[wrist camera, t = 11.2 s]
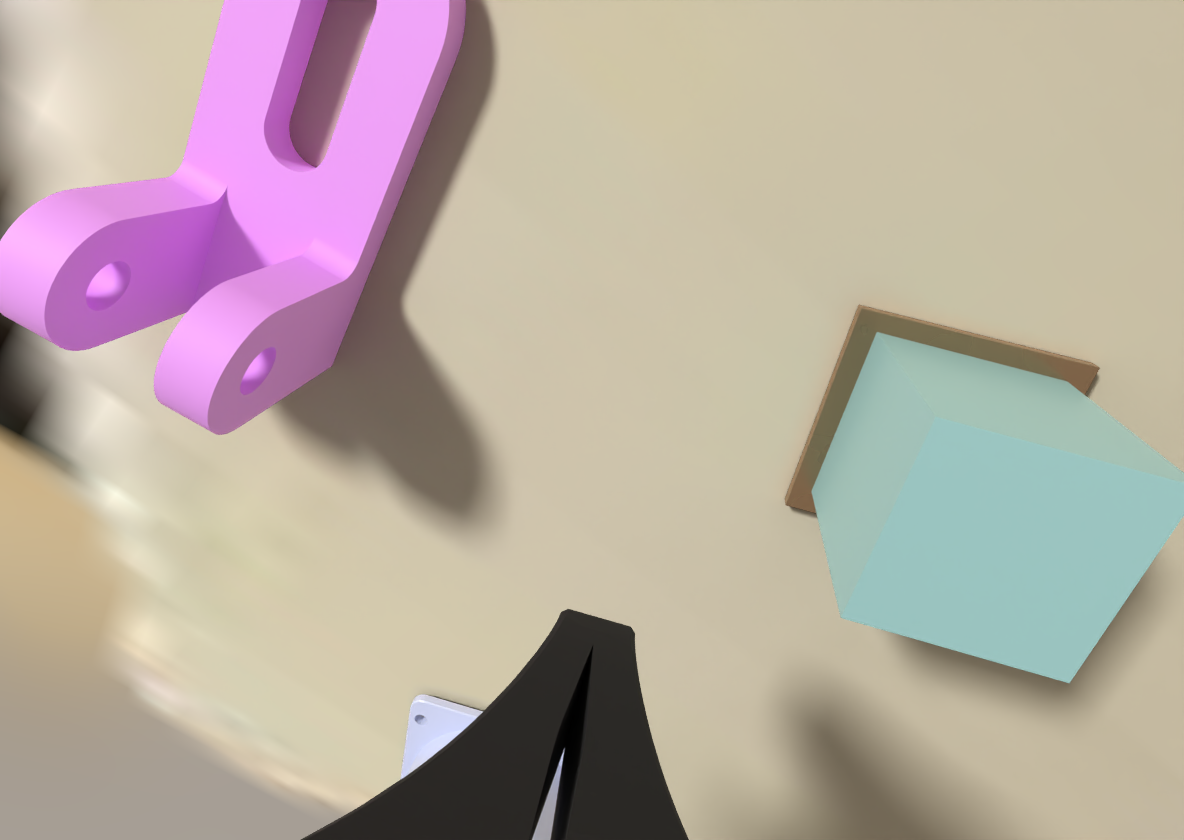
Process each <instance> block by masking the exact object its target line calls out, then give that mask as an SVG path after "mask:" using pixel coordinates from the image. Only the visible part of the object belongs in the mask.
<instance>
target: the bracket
mask: <svg viewBox="0 0 1184 840" xmlns="http://www.w3.org/2000/svg"><path fill="white" fill-rule="evenodd" d="M327 2H328V0H224V4H223V8H222V11H221V15H220V19H219V23H218V27H217V31H216V35H215V39H214V42H213V46H212V50H211V54H210V58H209V62H208V66H207V70H206V73H205V77H204V81H203V85H202V89H201V93H200V97H199V101H198V104H197V108H196V112H195V116H194V120H193V124H192V128H191V132H190V136H189V139H188V143H187V147H186V151H185V155H184V159H183V162H182V164H181V166H180V167H179V169H178V170H177V171H176V172H175V173H174V174H173V175H171V176H170V177H167V178H160V179H152V180H143V181H135V182H127V183H119V184H110V185H102V186H94V187H86V188H77V189H70V190H64V191H61V192H57V193H55V194H52V195H50V196H48V197H46V198H44V199H42V200H40V201H39V202H37V203H36V204H34V205H33V206H31V207H30V208H29V209H27V210H26V211H25V212H24V213H23V214H22V215H21V216H20V217H19V218H18V219H17V220H16V221H15V222H14V223H13V224H12V225H11V227H10V228H9V229H8V230H7V232H6V233H5V235H4V236H3V238H2V239H1V241H0V313H2V314H3V315H4V316H6V317H7V318H9V319H11V320H13V321H15V322H16V323H18V324H20V325H22V326H23V327H25V328H27V329H29V330H31V331H32V332H34V333H36V334H38V335H40V336H41V337H43V338H45V339H47V340H48V341H50V342H52V343H54V344H56V345H57V346H59V347H61V348H63V349H66V350H72V351H79V350H86V349H90V348H93V347H96V346H99V345H101V344H104V343H107V342H109V341H112V340H115V339H117V338H120V337H122V336H125V335H128V334H130V333H133V332H136V331H138V330H141V329H144V328H146V327H149V326H152V325H154V324H157V323H160V322H162V321H165V320H167V319H170V318H173V317H175V316H178V315H181V314H183V313H186V312H187V313H186V314H185V315H184V317H183V318H182V319H181V320H180V322H179V323H178V325H177V326H176V328H175V329H174V331H173V332H172V334H171V335H170V337H169V339H168V341H167V343H166V345H165V347H164V349H163V351H162V353H161V355H160V358H159V361H158V364H157V367H156V371H155V377H154V391H155V395H156V398H157V399H158V401H159V402H160V403H161V404H163V405H165V406H166V407H168V408H170V409H172V410H174V411H175V412H177V413H179V414H181V415H182V416H184V417H186V418H188V419H190V420H191V421H193V422H195V423H197V424H199V425H200V426H202V427H204V428H206V429H207V430H209V431H211V432H213V433H215V434H218V435H222V434H226V433H229V432H231V431H233V430H235V429H237V428H239V427H240V426H242V425H243V424H245V423H246V422H248V421H249V420H251V419H252V418H254V417H255V416H257V415H258V414H260V413H261V412H263V411H265V410H266V409H268V408H269V407H271V406H272V405H274V404H275V403H277V402H278V401H280V400H281V399H283V398H284V397H286V396H287V395H289V394H290V393H292V392H293V391H295V390H296V389H298V388H300V387H301V386H303V385H304V384H306V383H307V382H309V381H310V380H312V379H313V378H315V377H316V376H318V375H319V374H321V373H322V372H324V371H325V370H327V369H328V368H330V367H332V365H333V362H334V360H335V357H336V355H337V352H338V350H339V347H340V345H341V342H342V340H343V337H344V335H345V333H346V330H347V328H348V325H349V323H350V320H351V318H352V315H353V313H354V310H355V308H356V305H357V303H358V300H359V298H360V296H361V293H362V291H363V288H364V286H365V283H366V281H367V278H368V276H369V273H370V271H371V268H372V266H373V263H374V261H375V259H376V256H377V254H378V251H379V249H380V246H381V244H382V241H383V239H384V236H385V234H386V231H387V229H388V226H389V224H390V222H391V219H392V217H393V214H394V212H395V209H396V207H397V204H398V202H399V199H400V197H401V194H402V192H403V189H404V187H405V185H406V182H407V180H408V177H409V175H410V172H411V170H412V167H413V165H414V162H415V160H416V157H417V155H418V152H419V150H420V148H421V145H422V143H423V140H424V138H425V135H426V133H427V130H428V128H429V125H430V123H431V120H432V118H433V115H434V113H435V111H436V108H437V106H438V103H439V101H440V98H441V96H442V93H443V91H444V88H445V86H446V83H447V81H448V78H449V76H450V74H451V71H452V69H453V66H454V64H455V61H456V59H457V56H458V53H459V50H460V47H461V43H462V39H463V35H464V28H465V18H466V0H377V7H376V12H375V16H374V18H373V21H372V24H371V27H370V30H369V33H368V36H367V39H366V41H365V44H364V47H363V50H362V53H361V56H360V59H359V62H358V65H357V67H356V70H355V73H354V76H353V79H352V82H351V85H350V88H349V90H348V93H347V96H346V99H345V102H344V105H343V108H342V111H341V113H340V116H339V119H338V122H337V125H336V128H335V131H334V134H333V136H332V139H331V142H330V145H329V148H328V151H327V154H326V156H325V158H324V160H323V161H322V163H321V164H320V165H319V166H318V167H314V166H312V165H310V164H308V163H307V162H305V161H304V160H303V159H302V158H301V157H300V156H299V154H298V153H297V152H296V150H295V148H294V146H293V144H292V141H291V138H290V133H289V123H290V118H291V115H292V112H293V109H294V106H295V102H296V99H297V96H298V93H299V90H300V87H301V84H302V80H303V77H304V74H305V71H306V68H307V65H308V61H309V58H310V55H311V52H312V49H313V46H314V43H315V39H316V36H317V33H318V30H319V27H320V24H321V20H322V17H323V14H324V11H325V8H326V5H327Z"/></svg>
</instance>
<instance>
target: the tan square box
mask: <svg viewBox="0 0 1184 840" xmlns="http://www.w3.org/2000/svg"><path fill="white" fill-rule="evenodd" d="M877 332H879V333H883V334H887V335H891V336H895V337H898V338H902V339H906V340H910V341H914V342H918V343H921V344H925V345H929V346H933V347H937V348H941V349H944V350H948V351H952V352H956V353H960V354H964V355H968V356H971V357H975V358H979V359H983V360H987V361H991V362H994V363H998V364H1002V365H1006V366H1010V367H1014V368H1017V369H1021V370H1025V371H1029V372H1033V373H1037V374H1041V375H1044V376H1048V377H1052V378H1056V379H1060V380H1064V381H1067V382H1069V383H1070V384H1071V385H1073V386H1074V387H1075V388H1076V389H1078V390H1079V391H1080V392H1081V393H1083V394H1084V395H1085V394H1086V392H1087V390H1088V388H1089V387H1090V385H1091V383H1092V381H1093V379H1094V378H1095V376H1096V374H1097V372H1098V370H1099V367H1098V366H1096V365H1095V364H1093V363H1091V362H1087V361H1083V360H1079V359H1075V358H1071V357H1067V356H1063V355H1059V354H1055V353H1051V352H1047V351H1042V350H1038V349H1034V348H1030V347H1026V346H1022V345H1018V344H1014V343H1010V342H1006V341H1002V340H998V339H994V338H990V337H986V336H982V335H978V334H974V333H970V332H966V331H962V330H958V329H954V328H950V327H946V326H942V325H938V324H934V323H930V322H926V321H922V320H918V319H914V318H910V317H906V316H902V315H898V314H894V313H890V312H886V311H882V310H878V309H874V308H870V307H866V306H862V305H859V306H858V308H857V311H856V313H855V316H854V319H853V321H852V324H851V327H850V329H849V332H848V334H847V337H846V340H845V342H844V345H843V347H842V350H841V353H840V355H839V358H838V361H837V363H836V366H835V368H834V371H833V374H832V376H831V379H830V381H829V384H828V387H827V389H826V392H825V395H824V397H823V400H822V402H821V405H820V408H819V410H818V413H817V416H816V418H815V421H814V423H813V426H812V429H811V431H810V434H809V436H808V439H807V442H806V444H805V447H804V450H803V452H802V455H801V457H800V460H799V463H798V465H797V468H796V470H795V473H794V476H793V478H792V481H791V484H790V486H789V489H788V491H787V494H786V497H785V504H786V505H787V506H791V507H795V508H798V509H802V510H806V511H810V512H813V513H816V509H815V505H814V500H813V496H812V492H811V491H812V489H813V486H814V484H815V481H816V479H817V477H818V474H819V472H820V469H821V467H822V464H823V462H824V460H825V457H826V455H827V452H828V450H829V447H830V445H831V442H832V440H833V438H834V435H835V433H836V430H837V428H838V425H839V423H840V420H841V418H842V416H843V413H844V411H845V408H846V406H847V403H848V401H849V399H850V396H851V394H852V391H853V389H854V386H855V384H856V381H857V379H858V377H859V374H860V372H861V369H862V367H863V364H864V362H865V360H866V357H867V355H868V352H869V350H870V347H871V345H872V342H873V340H874V338H875V335H876V333H877Z"/></svg>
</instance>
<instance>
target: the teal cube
mask: <svg viewBox="0 0 1184 840" xmlns="http://www.w3.org/2000/svg"><path fill="white" fill-rule="evenodd" d="M811 492H812V496H813V500H814V505H815V509H816V513H817V517H818V522H819V526H820V530H821V535H822V539H823V543H824V548H825V552H826V556H827V561H828V565H829V569H830V574H831V578H832V582H833V586H834V591H835V595H836V599H837V604H838V608H839V612H840V617H841V618H843V619H847V620H850V621H854V622H857V623H861V624H864V625H868V626H871V627H875V628H878V629H881V630H885V631H888V632H892V633H895V634H899V635H902V636H906V637H909V638H913V639H916V640H920V641H923V642H927V643H930V644H934V645H937V646H941V647H944V648H948V649H951V650H955V651H958V652H962V653H965V654H969V655H972V656H976V657H979V658H983V659H986V660H990V661H993V662H997V663H1000V664H1004V665H1007V666H1011V667H1014V668H1018V669H1021V670H1025V671H1028V672H1032V673H1035V674H1039V675H1042V676H1046V677H1049V678H1053V679H1056V680H1060V681H1063V682H1067V683H1070V682H1071V680H1072V679H1073V677H1074V676H1075V674H1076V673H1077V671H1078V670H1079V668H1080V667H1081V665H1082V664H1083V662H1084V661H1085V660H1086V658H1087V657H1088V655H1089V654H1090V652H1091V651H1092V649H1093V648H1094V646H1095V645H1096V643H1097V642H1098V640H1099V639H1100V638H1101V636H1102V635H1103V633H1104V632H1105V630H1106V629H1107V627H1108V626H1109V624H1110V623H1111V621H1112V620H1113V619H1114V617H1115V616H1116V614H1117V613H1118V611H1119V610H1120V608H1121V607H1122V605H1123V604H1124V602H1125V601H1126V599H1127V598H1128V597H1129V595H1130V594H1131V592H1132V591H1133V589H1134V588H1135V586H1136V585H1137V583H1138V582H1139V580H1140V579H1141V577H1142V576H1143V575H1144V573H1145V572H1146V570H1147V569H1148V567H1149V566H1150V564H1151V563H1152V561H1153V560H1154V558H1155V557H1156V555H1157V554H1158V553H1159V551H1160V550H1161V548H1162V547H1163V545H1164V544H1165V542H1166V541H1167V539H1168V538H1169V536H1170V535H1171V533H1172V532H1173V531H1174V529H1175V528H1176V526H1177V525H1178V523H1179V522H1180V520H1181V519H1182V517H1183V516H1184V473H1183V472H1182V471H1181V470H1179V469H1178V468H1177V467H1176V466H1174V465H1173V464H1172V463H1170V462H1169V461H1168V460H1167V459H1165V458H1164V457H1163V456H1162V455H1160V454H1159V453H1158V452H1156V451H1155V450H1154V449H1153V448H1151V447H1150V446H1149V445H1148V444H1146V443H1145V442H1144V441H1142V440H1141V439H1140V438H1139V437H1137V436H1136V435H1135V434H1134V433H1132V432H1131V431H1130V430H1128V429H1127V428H1126V427H1125V426H1123V425H1122V424H1121V423H1120V422H1118V421H1117V420H1116V419H1114V418H1113V417H1112V416H1111V415H1109V414H1108V413H1107V412H1106V411H1104V410H1103V409H1102V408H1101V407H1099V406H1098V405H1097V404H1095V403H1094V402H1093V401H1092V400H1090V399H1089V398H1088V397H1087V396H1085V395H1084V394H1083V393H1081V392H1080V391H1079V390H1078V389H1076V388H1075V387H1074V386H1073V385H1071V384H1070V383H1069V382H1067V381H1064V380H1060V379H1056V378H1052V377H1048V376H1044V375H1041V374H1037V373H1033V372H1029V371H1025V370H1021V369H1017V368H1014V367H1010V366H1006V365H1002V364H998V363H994V362H991V361H987V360H983V359H979V358H975V357H971V356H968V355H964V354H960V353H956V352H952V351H948V350H944V349H941V348H937V347H933V346H929V345H925V344H921V343H918V342H914V341H910V340H906V339H902V338H898V337H895V336H891V335H887V334H883V333H879V332H877V333H876V335H875V338H874V340H873V342H872V345H871V347H870V350H869V352H868V355H867V357H866V360H865V362H864V364H863V367H862V369H861V372H860V374H859V377H858V379H857V381H856V384H855V386H854V389H853V391H852V394H851V396H850V399H849V401H848V403H847V406H846V408H845V411H844V413H843V416H842V418H841V420H840V423H839V425H838V428H837V430H836V433H835V435H834V438H833V440H832V442H831V445H830V447H829V450H828V452H827V455H826V457H825V460H824V462H823V464H822V467H821V469H820V472H819V474H818V477H817V479H816V481H815V484H814V486H813V489H812V491H811Z"/></svg>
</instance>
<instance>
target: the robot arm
mask: <svg viewBox="0 0 1184 840" xmlns="http://www.w3.org/2000/svg"><path fill="white" fill-rule="evenodd" d="M421 715H423V716H424V717H423V716H421ZM301 840H689V839H688V837H687V835H686V832H685V830H684V828H683V825H682V823H681V820H680V818H679V816H678V813H677V811H676V808H675V805H674V803H673V800H672V798H671V795H670V792H669V790H668V787H667V784H666V781H665V778H664V775H663V772H662V769H661V766H660V763H659V760H658V756H657V753H656V750H655V746H654V743H653V739H652V736H651V732H650V728H649V724H648V720H647V716H646V711H645V707H644V703H643V698H642V693H641V688H640V682H639V676H638V670H637V662H636V653H635V633H634V631H633V630H632V628H631V627H630V626H626V625H623V624H619V623H616V622H612V621H609V620H605V619H602V618H598V617H595V616H591V615H588V614H584V613H581V612H577V611H574V610H570V609H567V610H565V611H563V612H561V614H560V616H559V618H558V620H557V622H556V624H555V626H554V627H553V629H552V631H551V632H550V634H549V635H548V637H547V638H546V640H545V641H544V642H543V644H542V645H541V646H540V648H539V649H538V651H537V652H536V653H535V655H534V656H533V657H532V658H531V659H530V661H529V662H528V663H527V664H526V666H525V667H524V668H523V669H522V670H521V672H520V673H519V674H518V675H517V676H516V678H515V679H514V680H513V681H512V682H511V683H510V684H509V685H508V686H507V688H506V689H505V690H504V691H503V692H502V693H501V694H500V695H499V696H498V697H497V698H496V699H495V700H494V701H493V702H492V703H491V704H490V705H489V706H488V707H487V709H485V710H484V711H480V710H476V709H473V708H469V707H466V706H463V705H459V704H456V703H453V702H449V701H446V700H443V699H439V698H436V697H432V696H429V695H424V694H422V695H418V696H416V697H415V699H414V700H413V702H412V705H411V708H410V715H409V722H408V729H407V736H406V743H405V751H404V758H403V765H402V772H401V779H400V780H399V781H398V782H396V783H395V784H393V785H392V786H390V787H389V788H387V789H386V790H384V791H383V792H381V793H380V794H378V795H377V796H375V797H374V798H372V799H371V800H369V801H368V802H366V803H365V804H363V805H361V806H360V807H358V808H357V809H355V810H353V811H352V812H350V813H348V814H346V815H344V816H343V817H341V818H339V819H337V820H335V821H334V822H332V823H330V824H328V825H326V826H325V827H323V828H321V829H320V830H317V831H316V832H314V833H312V834H310V835H309V836H307V837H305V838H303V839H301Z"/></svg>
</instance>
